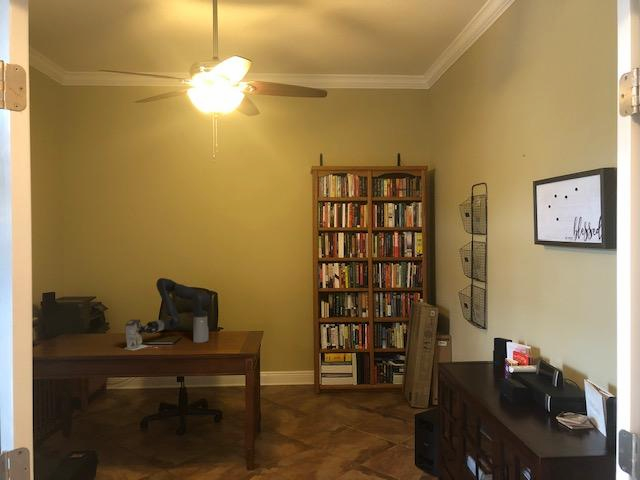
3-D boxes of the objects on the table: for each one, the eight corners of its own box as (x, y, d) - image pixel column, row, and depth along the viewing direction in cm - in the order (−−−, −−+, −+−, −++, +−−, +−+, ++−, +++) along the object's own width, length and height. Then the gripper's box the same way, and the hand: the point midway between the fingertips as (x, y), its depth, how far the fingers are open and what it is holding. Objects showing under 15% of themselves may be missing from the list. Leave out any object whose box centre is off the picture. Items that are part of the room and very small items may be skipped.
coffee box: (133, 341, 302) (130, 319, 299) (142, 342, 302) (140, 319, 299) (126, 348, 293) (124, 324, 290) (136, 348, 293) (134, 324, 290)
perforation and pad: (141, 344, 307) (141, 343, 307) (157, 347, 299) (157, 346, 299) (124, 348, 295) (124, 347, 295) (141, 352, 288) (141, 351, 288)
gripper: (148, 319, 315) (127, 324, 301) (162, 321, 308) (142, 326, 294) (148, 330, 316) (127, 335, 301) (162, 333, 309) (142, 338, 294)
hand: (134, 331), depth 298 cm, fingers closed on coffee box, 7 cm apart
